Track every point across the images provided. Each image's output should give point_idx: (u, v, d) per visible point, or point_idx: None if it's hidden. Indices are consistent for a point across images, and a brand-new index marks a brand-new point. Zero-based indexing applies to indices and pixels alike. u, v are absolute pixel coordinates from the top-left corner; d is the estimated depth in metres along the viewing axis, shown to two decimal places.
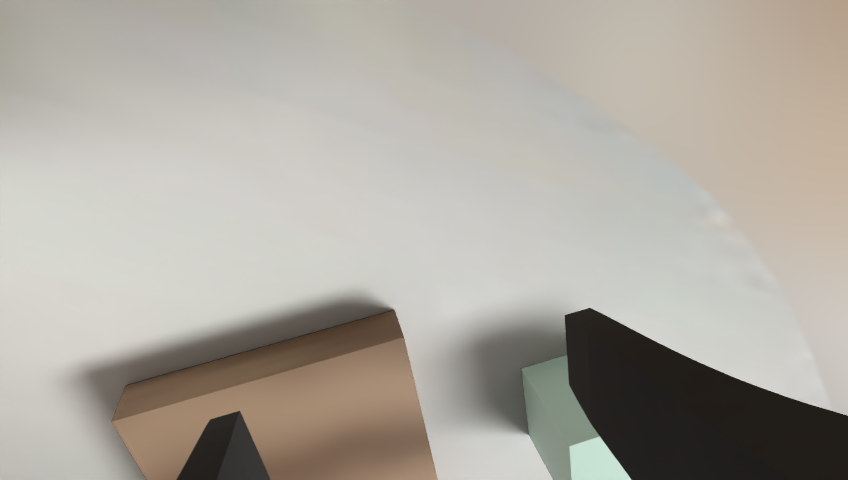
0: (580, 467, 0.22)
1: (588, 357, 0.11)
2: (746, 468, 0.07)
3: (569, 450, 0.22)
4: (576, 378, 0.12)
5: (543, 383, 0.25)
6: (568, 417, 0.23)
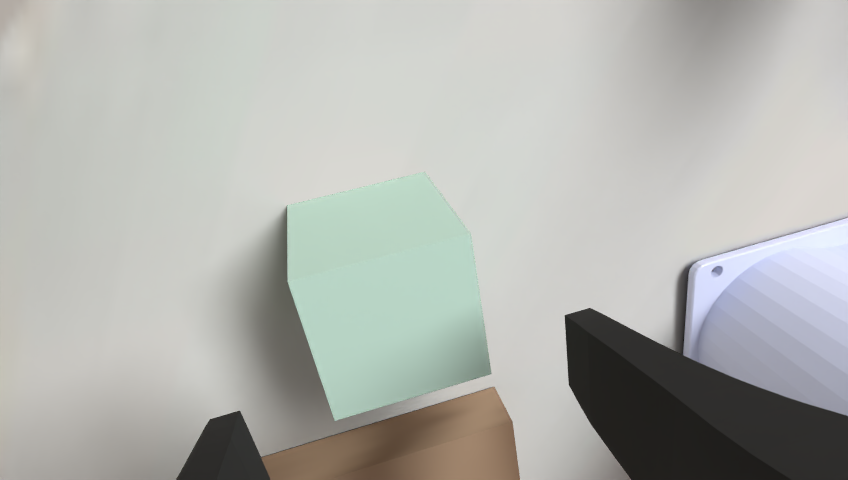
0: (382, 394, 0.15)
1: (588, 357, 0.11)
2: (746, 467, 0.07)
3: (344, 417, 0.15)
4: (576, 378, 0.12)
5: None
6: None
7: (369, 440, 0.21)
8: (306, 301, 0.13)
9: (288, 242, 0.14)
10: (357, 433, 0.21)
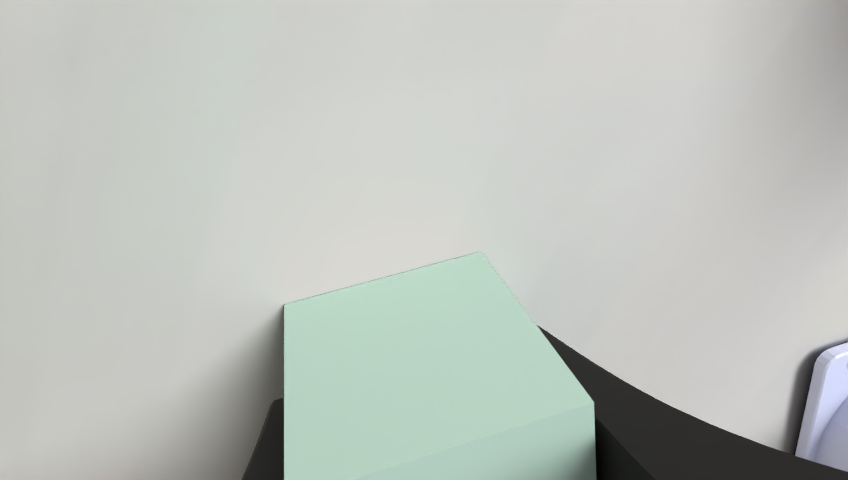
0: None
1: None
2: None
3: None
4: None
5: None
6: None
7: None
8: None
9: (286, 393, 0.09)
10: None
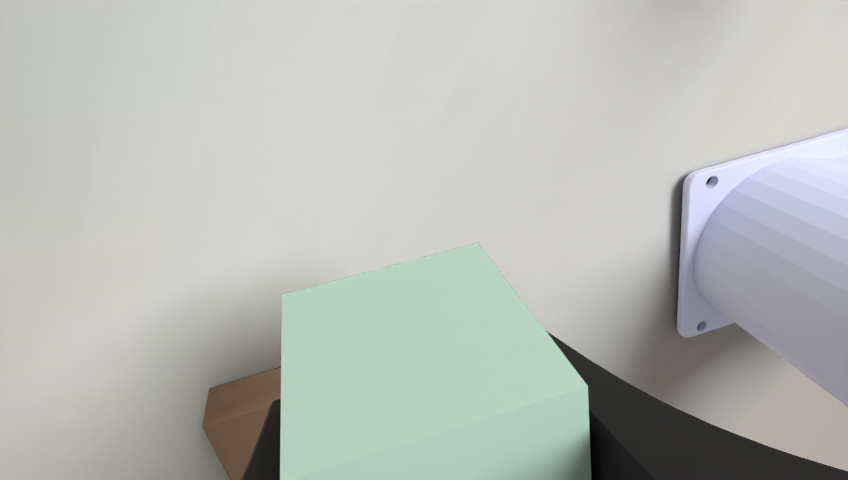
0: None
1: None
2: None
3: None
4: None
5: None
6: None
7: None
8: None
9: (282, 379, 0.09)
10: None
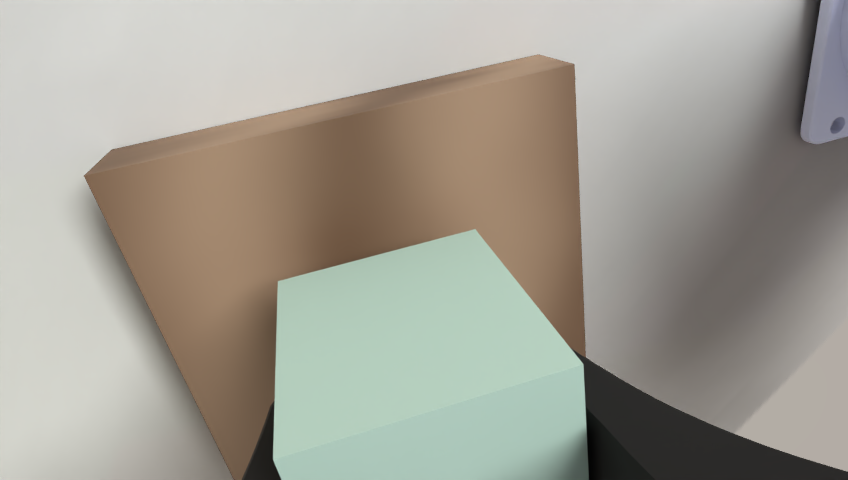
0: None
1: None
2: None
3: None
4: None
5: None
6: None
7: (344, 104, 0.13)
8: None
9: (277, 360, 0.09)
10: (326, 104, 0.13)
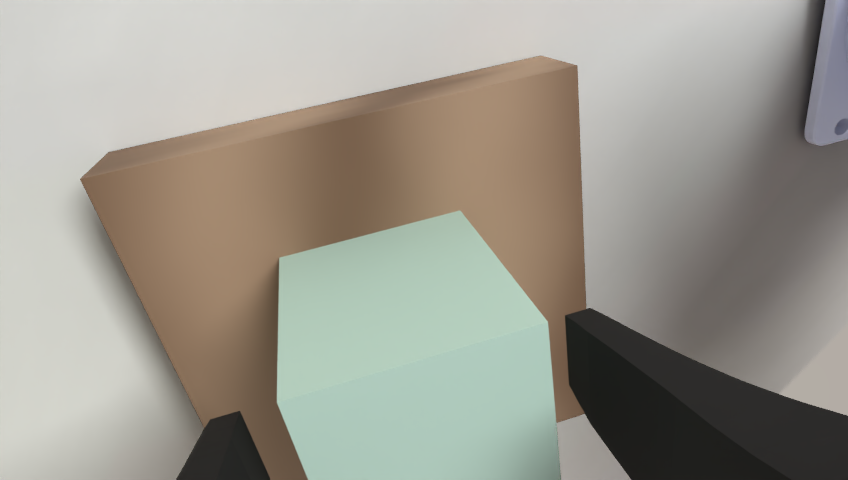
0: None
1: (588, 357, 0.11)
2: (746, 468, 0.07)
3: None
4: (576, 378, 0.12)
5: None
6: None
7: (344, 106, 0.13)
8: (305, 426, 0.09)
9: (279, 324, 0.10)
10: (326, 106, 0.13)
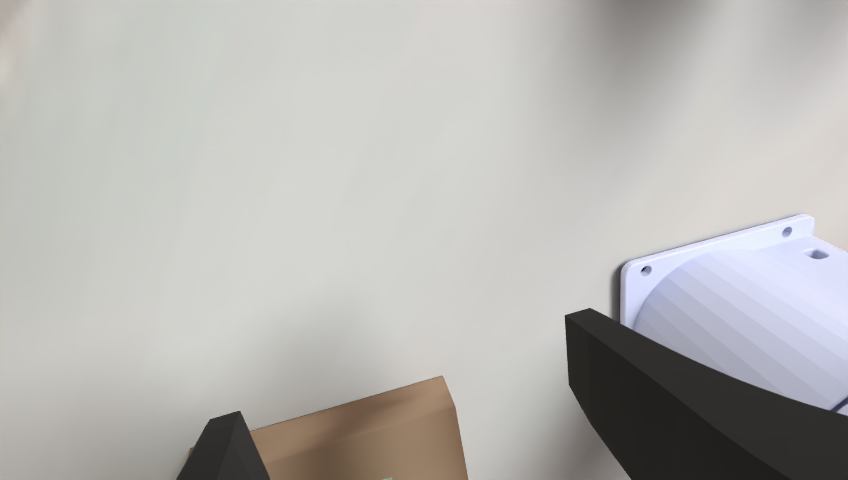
0: None
1: (588, 357, 0.11)
2: (746, 467, 0.07)
3: None
4: (576, 378, 0.12)
5: None
6: None
7: (324, 423, 0.22)
8: None
9: None
10: (314, 417, 0.23)
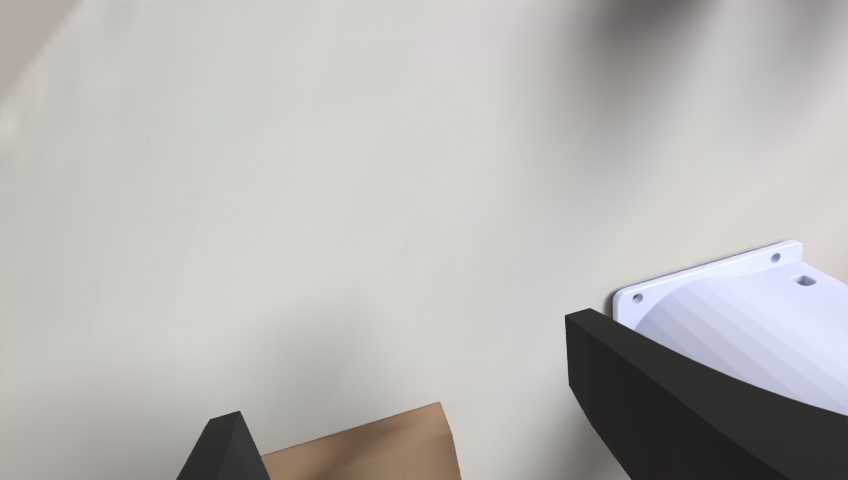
0: None
1: (588, 357, 0.11)
2: (746, 468, 0.07)
3: None
4: (576, 378, 0.12)
5: None
6: None
7: (325, 451, 0.23)
8: None
9: None
10: (315, 444, 0.23)
